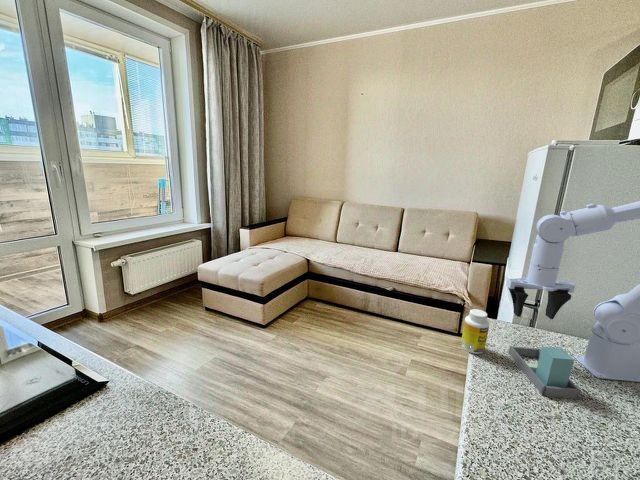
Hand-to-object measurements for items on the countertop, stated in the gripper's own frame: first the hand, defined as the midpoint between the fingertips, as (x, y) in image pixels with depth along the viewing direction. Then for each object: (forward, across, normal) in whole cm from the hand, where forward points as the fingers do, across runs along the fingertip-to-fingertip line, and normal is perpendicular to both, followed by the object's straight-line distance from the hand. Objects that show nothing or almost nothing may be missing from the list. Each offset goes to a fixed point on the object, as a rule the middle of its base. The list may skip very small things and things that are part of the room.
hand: (533, 315), depth 77 cm
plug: (+9, -2, -14) cm, 17 cm away
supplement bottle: (+10, -14, -2) cm, 17 cm away
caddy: (+9, -2, -10) cm, 14 cm away
